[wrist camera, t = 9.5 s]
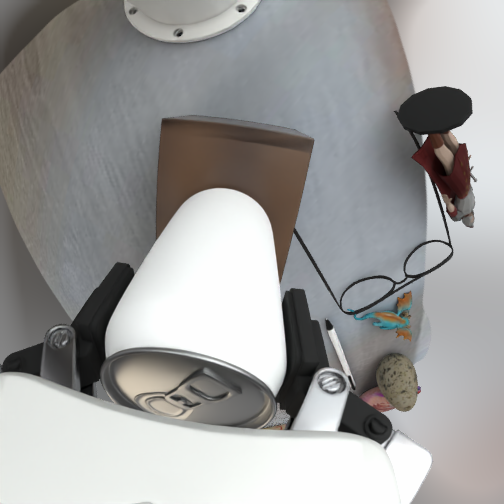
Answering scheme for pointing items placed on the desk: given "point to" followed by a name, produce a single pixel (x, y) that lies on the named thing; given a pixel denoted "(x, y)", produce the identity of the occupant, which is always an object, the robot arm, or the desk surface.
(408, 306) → the dragon figurine
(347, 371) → the pen
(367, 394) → the anatomical model
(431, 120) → the figurine
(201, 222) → the can
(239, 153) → the shelf
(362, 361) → the desk surface
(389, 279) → the glasses
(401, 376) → the decorative egg
